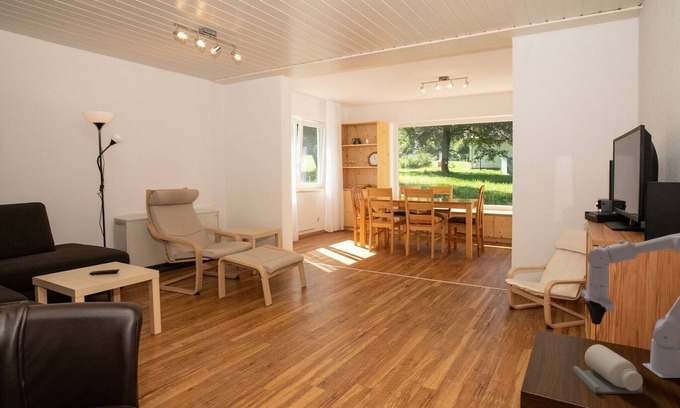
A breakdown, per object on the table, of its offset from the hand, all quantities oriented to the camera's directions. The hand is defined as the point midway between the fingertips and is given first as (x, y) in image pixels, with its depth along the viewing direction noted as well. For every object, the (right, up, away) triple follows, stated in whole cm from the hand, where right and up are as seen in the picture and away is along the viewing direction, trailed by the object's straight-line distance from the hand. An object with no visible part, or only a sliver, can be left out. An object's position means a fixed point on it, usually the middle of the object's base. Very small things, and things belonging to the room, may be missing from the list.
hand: (596, 323), depth 137 cm
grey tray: (-7, -13, -16) cm, 22 cm away
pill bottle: (-6, -7, -10) cm, 13 cm away
